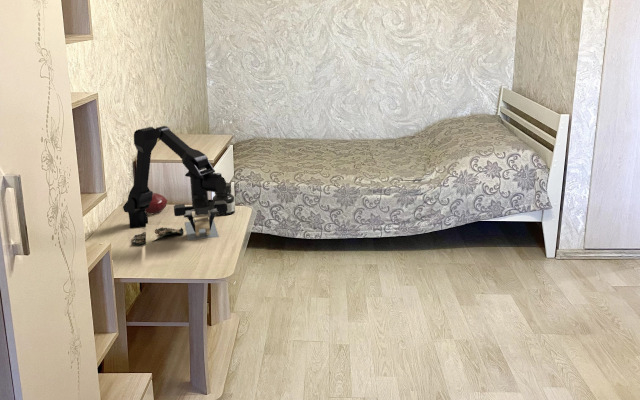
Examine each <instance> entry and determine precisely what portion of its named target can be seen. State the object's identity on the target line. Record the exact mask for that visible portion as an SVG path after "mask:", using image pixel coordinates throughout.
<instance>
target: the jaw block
mask: <svg viewBox="0 0 640 400" xmlns="http://www.w3.org/2000/svg"><path fill="white" fill-rule="evenodd" d="M193 220H194V225H195V233H196V236H199V229H205V230H206V234H207V235H210V225H209V215H208V216H198V217H193Z"/></svg>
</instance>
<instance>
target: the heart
mask: <svg viewBox="0 0 640 400" xmlns="http://www.w3.org/2000/svg"><path fill="white" fill-rule="evenodd" d="M167 203H168V199H167V198H166V197H165V196H164V195H163V194H160V193H157V192H153V194H152V201H151V203H150V205H149V208H146V209H145V211H146V212H147V214H151V215H157V214H159V213H161V212H162V211H163V210H164V209H165V208H166V207H167Z"/></svg>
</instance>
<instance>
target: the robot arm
mask: <svg viewBox="0 0 640 400" xmlns="http://www.w3.org/2000/svg"><path fill="white" fill-rule="evenodd" d="M158 139H159V140H160V141H161V142H162V143H164V145H166V147H168V148H169V149H170V150H172V152H173V153H175V154H176V155H177V156H178V157H179V158H180V159H181V163H182V165H183V166H184V167H185V168H186V169H187V170H188V172H186V174H184V175H185V177H187V178H190V179H189V180H190V190H191V191H190V192H191V193H190V194H191V203H192V205H187V206H186V205H185V203H179V204H178V203H177V204H174V205H173V213H174V217H181V216H183V218H187V220H188V222H190V223H191V225H192V227H193V230H194V232H195V225H194V217H193V216H194V215H195V216H201V215H208V219H209V225H210V230H211V226H212V222H213V220H214V219H215V217H216V216H218V215H217V214H219V212H227V211H228V208H227V203H226V201H224V200H222V201H215V204H214V201H213V199H209V196H208V194H209V193H208V192H211V193H215V192H217V193H222V192H223V191H224V190H225V188H226V183H227V181H226V178H225V177H223V176H222V173H221V172H216V170H215V169H214V166H213V165H212V164H211V162H210V161H209V158H208V156H207V155H206V154H205V153H203V152H202V151H200V150H198V149H194V148H192V147H190V146H189V145H188V144H187V143H186V142H184V141H183V140H182V139H181V138H180V137H179V136H177V135H176V133H174V132H173V131H171V129H170V127H168V126H167V125H162V126H158V127H155V128H154V127H153V126H149V127H144V128H139V129H136V130H134V132H133V145H134V147H135V148H136V151H137V153H136V163H135V172H134V173H135V174H134V182H133V185H132V188H131V189H130V191H129V193H128V197H127V201H126V202H125V203H124V204H123V206H122V210H123V211H124V213H127V214H128V219H129V221H128V223H129V229H133V228H134V229H135V228H146V227H147V225H148V224H149V218H148V217H149V216H148V213H147V212H146V211H145V209H146V208H149V205H150V203H151V201H152V194H153V193H154V192H153V191H152V190H150V188H149V186H148V185H149V177H150V175H149V174H150V167H151V159H152V158H151V157H152V152H153V150H154V149H155V147H156V145H157V144H158V143H157V142H158ZM193 212H194V215H193Z"/></svg>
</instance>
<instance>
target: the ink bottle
mask: <svg viewBox="0 0 640 400" xmlns="http://www.w3.org/2000/svg"><path fill="white" fill-rule="evenodd" d="M212 200H213V201H214V204H215V201H222V200H224V201H226V203H227V208H228V211H227V212H219V214H217V215H216V216H230V215H233V214H235V212H236V205H235V204H236V203H235V196H234V195H233V194H232V183H230V182H226V188H225V190H224V191H223V192H222V193H217V192H214V196H213V197H212Z"/></svg>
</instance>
